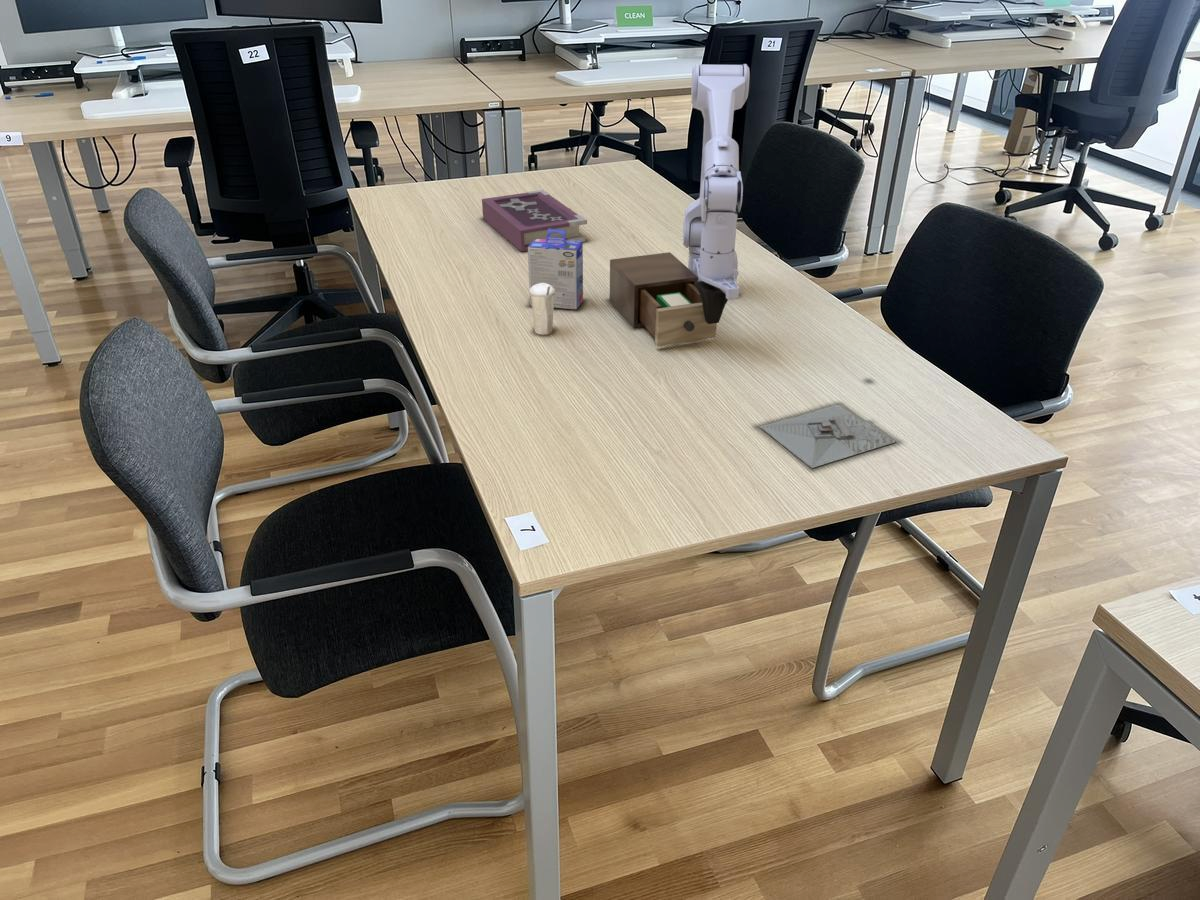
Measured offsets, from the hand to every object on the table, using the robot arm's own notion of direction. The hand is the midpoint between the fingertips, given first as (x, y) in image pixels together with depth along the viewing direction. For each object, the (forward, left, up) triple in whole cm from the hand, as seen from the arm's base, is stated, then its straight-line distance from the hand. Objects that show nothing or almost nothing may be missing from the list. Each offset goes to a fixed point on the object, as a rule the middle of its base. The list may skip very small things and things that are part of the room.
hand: (712, 322), depth 162 cm
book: (+14, -70, -5) cm, 72 cm away
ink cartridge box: (+21, -27, -5) cm, 35 cm away
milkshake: (+27, -15, -5) cm, 31 cm away
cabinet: (+4, -18, -5) cm, 20 cm away
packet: (+4, -7, -3) cm, 9 cm away
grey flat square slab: (-8, +31, -5) cm, 32 cm away
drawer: (+4, -7, -4) cm, 9 cm away
